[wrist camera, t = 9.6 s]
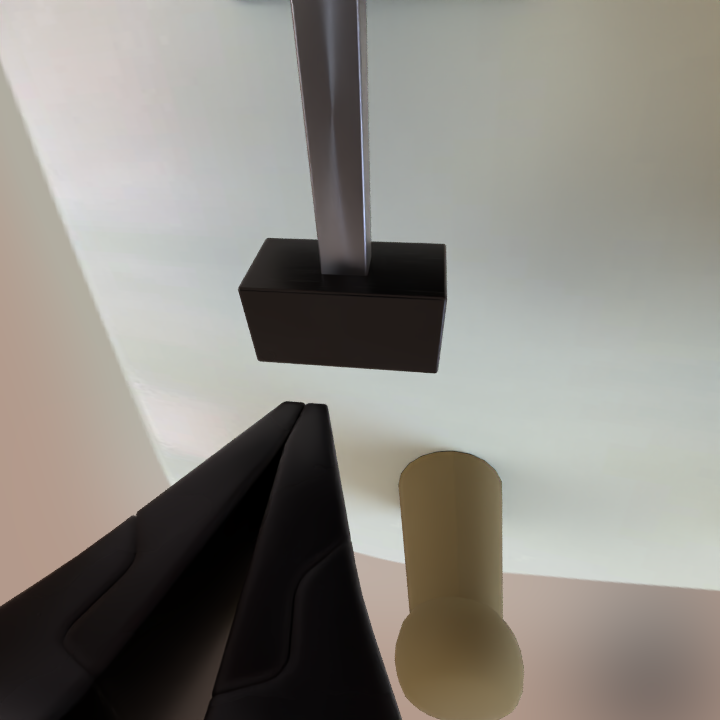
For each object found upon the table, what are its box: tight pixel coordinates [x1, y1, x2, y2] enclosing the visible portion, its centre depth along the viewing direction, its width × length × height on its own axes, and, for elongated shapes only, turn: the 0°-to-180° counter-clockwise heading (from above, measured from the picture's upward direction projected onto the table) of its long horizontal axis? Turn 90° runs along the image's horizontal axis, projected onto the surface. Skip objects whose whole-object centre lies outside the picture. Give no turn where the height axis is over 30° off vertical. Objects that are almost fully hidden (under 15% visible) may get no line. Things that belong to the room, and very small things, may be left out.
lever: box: [238, 0, 447, 373], centre depth 9 cm, size 13×5×3 cm, turn 0°
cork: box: [395, 451, 524, 720], centre depth 21 cm, size 6×6×11 cm
